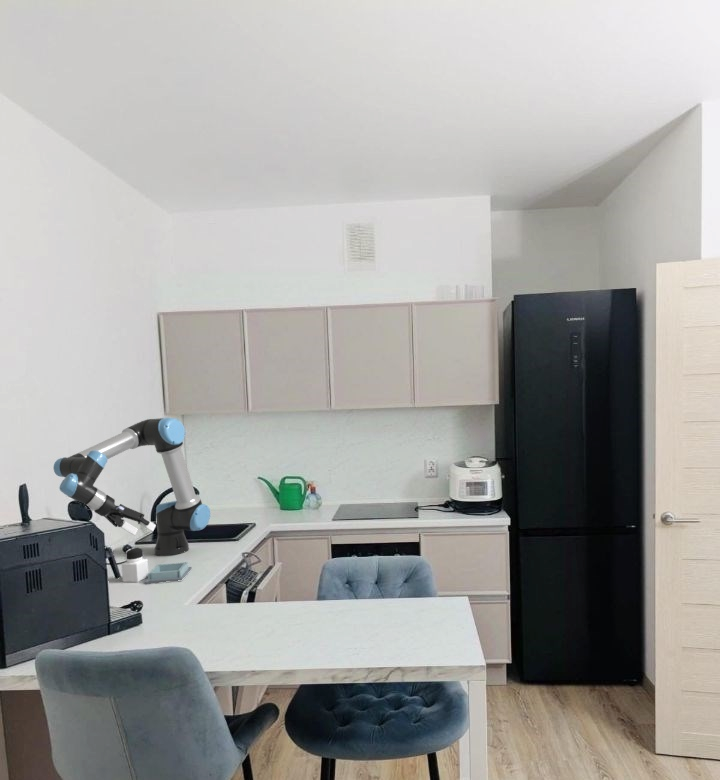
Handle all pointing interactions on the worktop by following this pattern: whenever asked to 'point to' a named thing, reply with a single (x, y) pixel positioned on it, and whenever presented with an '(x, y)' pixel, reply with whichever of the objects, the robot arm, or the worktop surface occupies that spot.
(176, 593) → the worktop surface
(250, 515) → the worktop surface
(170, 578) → the shallow blue tray
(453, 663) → the worktop surface
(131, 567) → the medicine bottle
